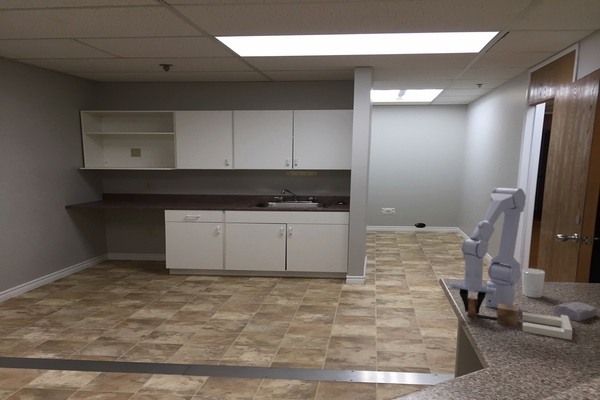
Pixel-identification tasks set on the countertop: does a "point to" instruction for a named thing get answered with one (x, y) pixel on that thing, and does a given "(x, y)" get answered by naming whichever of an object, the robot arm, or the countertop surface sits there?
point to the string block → (504, 315)
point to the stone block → (575, 310)
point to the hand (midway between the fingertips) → (472, 311)
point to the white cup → (532, 282)
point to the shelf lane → (547, 330)
